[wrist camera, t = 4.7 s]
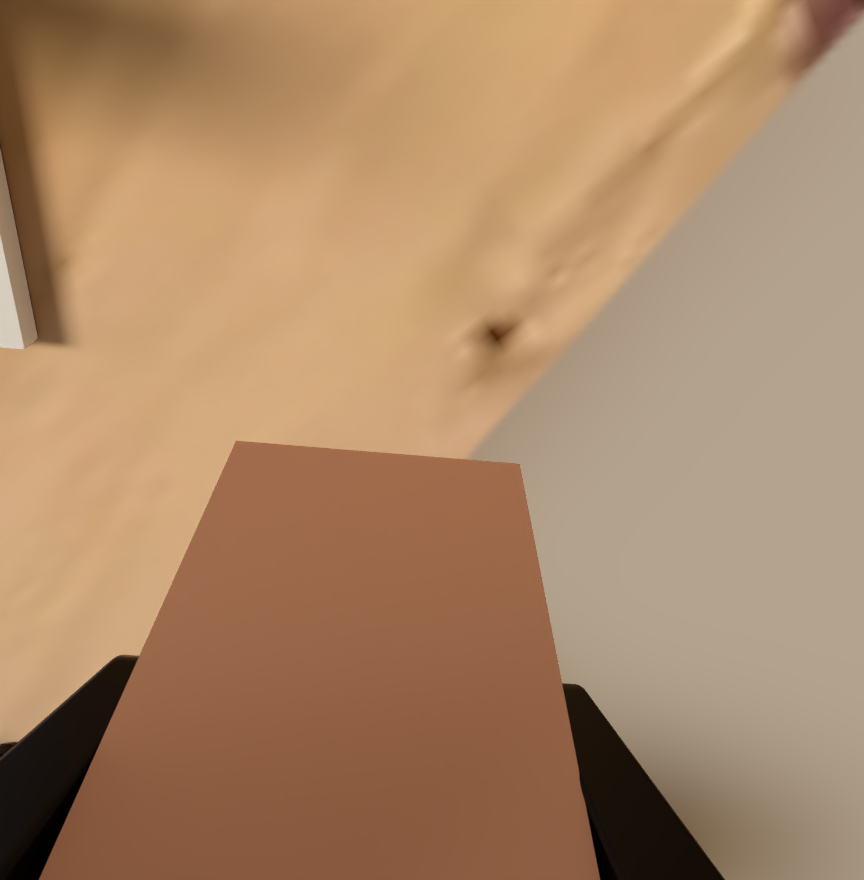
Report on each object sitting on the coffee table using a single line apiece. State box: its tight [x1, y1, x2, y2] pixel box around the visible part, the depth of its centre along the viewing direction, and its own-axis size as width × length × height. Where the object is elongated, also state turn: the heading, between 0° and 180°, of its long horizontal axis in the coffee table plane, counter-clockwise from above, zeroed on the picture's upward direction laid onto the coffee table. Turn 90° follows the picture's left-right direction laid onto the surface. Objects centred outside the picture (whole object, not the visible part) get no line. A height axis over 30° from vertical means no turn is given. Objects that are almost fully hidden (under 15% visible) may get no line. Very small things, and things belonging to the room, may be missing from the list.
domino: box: [39, 441, 600, 880], centre depth 9 cm, size 2×5×10 cm, turn 84°
